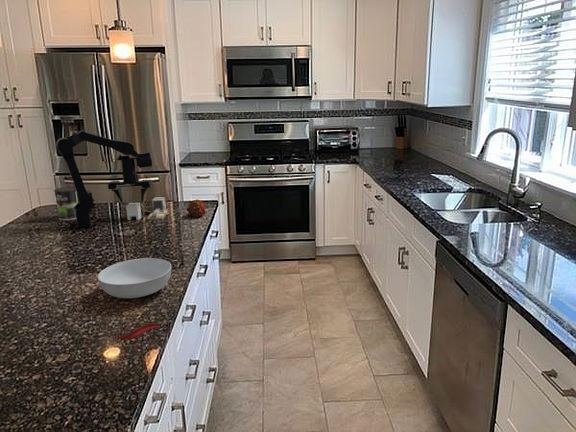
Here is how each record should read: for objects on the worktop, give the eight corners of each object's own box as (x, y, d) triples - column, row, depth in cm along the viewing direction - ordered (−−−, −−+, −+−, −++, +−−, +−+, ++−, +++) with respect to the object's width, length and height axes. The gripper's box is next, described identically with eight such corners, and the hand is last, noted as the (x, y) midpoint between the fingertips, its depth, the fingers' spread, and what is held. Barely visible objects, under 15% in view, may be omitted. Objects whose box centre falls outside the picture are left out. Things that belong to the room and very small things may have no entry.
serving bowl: (147, 272, 155) (144, 253, 153) (187, 288, 142) (185, 266, 140) (86, 294, 139) (83, 273, 137) (126, 314, 126) (123, 290, 124)
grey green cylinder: (71, 221, 219) (67, 191, 215) (53, 219, 222) (49, 190, 218) (86, 215, 228) (82, 187, 225) (69, 214, 231) (65, 186, 227)
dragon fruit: (198, 222, 216) (194, 220, 227) (212, 210, 217) (207, 208, 228) (186, 209, 213) (182, 207, 224) (200, 196, 215) (195, 195, 226)
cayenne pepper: (116, 344, 112) (115, 337, 112) (114, 335, 116) (113, 328, 116) (167, 332, 117) (166, 325, 116) (163, 324, 121) (162, 317, 120)
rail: (162, 219, 217) (160, 204, 215) (147, 220, 216) (145, 205, 214) (168, 210, 232) (166, 197, 230) (153, 211, 232) (152, 197, 230)
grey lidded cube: (138, 220, 217) (137, 205, 215) (127, 220, 217) (126, 206, 215) (141, 216, 223) (140, 202, 221) (131, 217, 223) (129, 202, 221)
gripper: (152, 165, 222) (156, 197, 226) (112, 167, 220) (116, 199, 225) (148, 169, 211) (151, 203, 215) (105, 171, 210) (110, 205, 214)
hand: (132, 202), depth 217 cm, fingers open, 9 cm apart
